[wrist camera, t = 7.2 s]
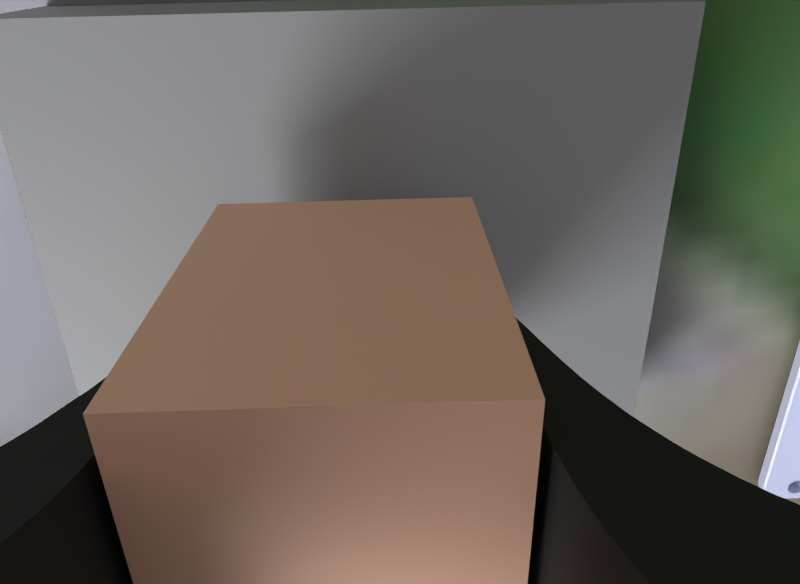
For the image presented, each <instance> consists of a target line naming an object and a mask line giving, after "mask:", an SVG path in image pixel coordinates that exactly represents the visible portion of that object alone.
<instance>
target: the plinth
mask: <svg viewBox="0 0 800 584" xmlns="http://www.w3.org/2000/svg"><path fill="white" fill-rule="evenodd" d="M705 5H706V1H702V0H281V1H241V2H201V3H160V4H120V5H80V6H44V7H38V8H32V9H26V10H21V11H15V12H9V13H3V14H0V130H1V134H2V137H3V141H4V144H5V147H6V151H7V154H8V157H9V161H10V164H11V168H12V171H13V174H14V178H15V181H16V184H17V188H18V191H19V195H20V198H21V201H22V205H23V208H24V211H25V215H26V218H27V222H28V225H29V228H30V232H31V235H32V238H33V242H34V245H35V249H36V252H37V255H38V259H39V262H40V265H41V269H42V272H43V276H44V279H45V282H46V286H47V289H48V292H49V296H50V299H51V302H52V306H53V309H54V313H55V316H56V319H57V323H58V326H59V329H60V333H61V336H62V340H63V343H64V346H65V350H66V353H67V356H68V360H69V363H70V367H71V370H72V373H73V377H74V380H75V383H76V387H77V390H78V394H79V396H80V395H82V394H83V393H85V392H86V391H88V390H89V389H91V388H92V387H93V386H95V385H96V384H97V383H99V382H100V381H102V380H103V379H104V378H106V377H107V376H108V374H109V373H110V371H111V369H112V368H113V366H114V365H115V363H116V362H117V360H118V359H119V357H120V356H121V354H122V352H123V351H124V349H125V348H126V346H127V345H128V343H129V342H130V340H131V338H132V337H133V335H134V334H135V332H136V331H137V329H138V328H139V326H140V325H141V323H142V321H143V320H144V318H145V317H146V315H147V314H148V312H149V311H150V309H151V308H152V306H153V304H154V303H155V301H156V300H157V298H158V297H159V295H160V294H161V292H162V290H163V289H164V287H165V286H166V284H167V283H168V281H169V280H170V278H171V277H172V275H173V273H174V272H175V270H176V269H177V267H178V266H179V264H180V263H181V261H182V259H183V258H184V256H185V255H186V253H187V252H188V250H189V249H190V247H191V246H192V244H193V242H194V241H195V239H196V238H197V236H198V235H199V233H200V232H201V230H202V229H203V227H204V225H205V224H206V222H207V221H208V219H209V218H210V216H211V215H212V213H213V211H214V210H215V208H216V207H217V205H218V204H239V203H274V202H310V201H346V200H382V199H417V198H453V197H472V199H473V201H474V204H475V207H476V210H477V212H478V215H479V218H480V221H481V223H482V226H483V229H484V232H485V234H486V237H487V240H488V243H489V245H490V248H491V251H492V254H493V257H494V259H495V262H496V265H497V268H498V270H499V273H500V276H501V279H502V281H503V284H504V287H505V290H506V292H507V295H508V298H509V301H510V303H511V306H512V309H513V312H514V314H515V317H516V318H517V319H518V320H519V321H520V322H521V323H523V324H524V325H525V326H526V327H527V328H528V329H529V330H530V331H531V332H532V333H533V334H534V335H535V336H536V337H537V338H538V339H539V340H540V341H541V342H542V343H543V344H545V345H546V346H547V347H548V348H549V349H550V350H551V351H552V352H553V353H554V354H555V355H556V356H557V357H559V358H560V359H561V360H562V361H563V362H564V363H565V364H566V365H568V366H569V367H570V368H571V369H572V370H573V371H574V372H576V373H577V374H578V375H579V376H580V377H581V378H583V379H584V380H585V381H586V382H588V383H589V384H590V385H591V386H592V387H594V388H595V389H596V390H597V391H599V392H600V393H601V394H603V395H604V396H605V397H607V398H608V399H609V400H611V401H612V402H613V403H615V404H616V405H617V406H619V407H620V408H621V409H623V410H624V411H625V412H627V413H628V414H630V415H631V416H633V417H634V412H635V407H636V401H637V395H638V390H639V384H640V378H641V372H642V367H643V361H644V355H645V349H646V344H647V338H648V332H649V326H650V321H651V315H652V309H653V303H654V298H655V292H656V286H657V280H658V275H659V269H660V263H661V257H662V252H663V246H664V240H665V234H666V229H667V223H668V217H669V211H670V206H671V200H672V194H673V188H674V183H675V177H676V171H677V166H678V160H679V154H680V148H681V143H682V137H683V131H684V125H685V120H686V114H687V108H688V102H689V97H690V91H691V85H692V79H693V74H694V68H695V62H696V56H697V51H698V45H699V39H700V33H701V28H702V22H703V16H704V10H705Z"/></svg>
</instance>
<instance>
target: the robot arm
mask: <svg viewBox="0 0 800 584" xmlns="http://www.w3.org/2000/svg"><path fill="white" fill-rule="evenodd" d="M516 320H517V323H518V325H519V328H520V331H521V334H522V336H523V339H524V342H525V345H526V348H527V350H528V353H529V356H530V359H531V361H532V364H533V367H534V370H535V372H536V375H537V378H538V381H539V383H540V386H541V389H542V392H543V394H544V397H545V408H544V418H543V429H542V439H541V449H540V460H539V470H538V480H537V491H536V501H535V511H534V522H533V532H532V543H531V553H530V563H529V574H528V584H800V505H798V504H796V503H794V502H791V501H789V500H786V499H784V498H800V341H799V345H798V348H797V352H796V355H795V358H794V362H793V365H792V368H791V372H790V375H789V378H788V382H787V385H786V389H785V392H784V395H783V399H782V402H781V405H780V409H779V412H778V415H777V419H776V422H775V426H774V429H773V432H772V436H771V439H770V442H769V446H768V449H767V453H766V456H765V459H764V463H763V466H762V469H761V473H760V476H759V479H758V485H759V487H760V488H759V487H757V486H755V485H753V484H751V483H749V482H746V481H744V480H742V479H740V478H738V477H736V476H734V475H732V474H730V473H728V472H726V471H724V470H723V469H721V468H719V467H717V466H715V465H713V464H711V463H709V462H707V461H705V460H703V459H701V458H699V457H698V456H696V455H694V454H692V453H690V452H689V451H687V450H685V449H683V448H682V447H680V446H678V445H676V444H675V443H673V442H672V441H670V440H668V439H667V438H665V437H664V436H662V435H660V434H659V433H657V432H656V431H654V430H652V429H651V428H649V427H648V426H646V425H644V424H643V423H641V422H640V421H638V420H637V419H635V418H634V417H633V416H631V415H630V414H628V413H627V412H625V411H624V410H623V409H621V408H620V407H619V406H617V405H616V404H615V403H613V402H612V401H611V400H609V399H608V398H607V397H605V396H604V395H603V394H601V393H600V392H599V391H597V390H596V389H595V388H594V387H592V386H591V385H590V384H589V383H588V382H586V381H585V380H584V379H583V378H581V377H580V376H579V375H578V374H577V373H576V372H574V371H573V370H572V369H571V368H570V367H569V366H568V365H566V364H565V363H564V362H563V361H562V360H561V359H560V358H559V357H557V356H556V355H555V354H554V353H553V352H552V351H551V350H550V349H549V348H548V347H547V346H546V345H545V344H543V343H542V342H541V341H540V340H539V339H538V338H537V337H536V336H535V335H534V334H533V333H532V332H531V331H530V330H529V329H528V328H527V327H526V326H525V325H524V324H523V323H521V322H520V321H519V320H518V319H517V318H516ZM105 379H106V378H104V379H103V380H102V381H100V382H99V383H97V384H96V385H95V386H93V387H92V388H91V389H89V390H88V391H86V392H85V393H83V394H82V395H80V396H79V397H78V398H76V399H75V400H73V401H72V402H70V403H69V404H67V405H66V406H64V407H63V408H61V409H60V410H58V411H57V412H55V413H54V414H52V415H51V416H49V417H48V418H46V419H45V420H43V421H42V422H41V423H39V424H38V425H36V426H34V427H33V428H31V429H30V430H28V431H26V432H25V433H23V434H21V435H20V436H18V437H16V438H15V439H13V440H11V441H10V442H8V443H6V444H5V445H3V446H1V447H0V584H133V582H132V578H131V575H130V571H129V568H128V565H127V561H126V558H125V555H124V551H123V548H122V544H121V541H120V538H119V534H118V531H117V528H116V524H115V521H114V517H113V514H112V511H111V507H110V504H109V501H108V497H107V494H106V491H105V487H104V484H103V480H102V477H101V474H100V470H99V467H98V464H97V460H96V457H95V453H94V450H93V447H92V443H91V440H90V437H89V433H88V430H87V426H86V423H85V420H84V416H83V413H84V411H85V410H86V408H87V407H88V405H89V404H90V402H91V400H92V399H93V397H94V396H95V394H96V393H97V391H98V390H99V388H100V387H101V385H102V383H103V382H104V380H105ZM794 481H795V482H794ZM792 482H793V483H792Z"/></svg>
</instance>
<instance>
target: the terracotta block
mask: <svg viewBox="0 0 800 584" xmlns="http://www.w3.org/2000/svg"><path fill="white" fill-rule="evenodd" d="M544 408H545V397H544V394H543V392H542V389H541V386H540V383H539V381H538V378H537V375H536V372H535V370H534V367H533V364H532V361H531V359H530V356H529V353H528V350H527V348H526V345H525V342H524V339H523V336H522V334H521V331H520V328H519V325H518V323H517V320H516V317H515V314H514V312H513V309H512V306H511V303H510V301H509V298H508V295H507V292H506V290H505V287H504V284H503V281H502V279H501V276H500V273H499V270H498V268H497V265H496V262H495V259H494V257H493V254H492V251H491V248H490V245H489V243H488V240H487V237H486V234H485V232H484V229H483V226H482V223H481V221H480V218H479V215H478V212H477V210H476V207H475V204H474V201H473V199H472V197H453V198H417V199H382V200H346V201H310V202H274V203H239V204H218V205H217V207H216V208H215V210H214V211H213V213H212V215H211V216H210V218H209V219H208V221H207V222H206V224H205V225H204V227H203V229H202V230H201V232H200V233H199V235H198V236H197V238H196V239H195V241H194V242H193V244H192V246H191V247H190V249H189V250H188V252H187V253H186V255H185V256H184V258H183V259H182V261H181V263H180V264H179V266H178V267H177V269H176V270H175V272H174V273H173V275H172V277H171V278H170V280H169V281H168V283H167V284H166V286H165V287H164V289H163V290H162V292H161V294H160V295H159V297H158V298H157V300H156V301H155V303H154V304H153V306H152V308H151V309H150V311H149V312H148V314H147V315H146V317H145V318H144V320H143V321H142V323H141V325H140V326H139V328H138V329H137V331H136V332H135V334H134V335H133V337H132V338H131V340H130V342H129V343H128V345H127V346H126V348H125V349H124V351H123V352H122V354H121V356H120V357H119V359H118V360H117V362H116V363H115V365H114V366H113V368H112V369H111V371H110V373H109V374H108V376H107V377H106V379H105V380H104V382H103V383H102V385H101V387H100V388H99V390H98V391H97V393H96V394H95V396H94V397H93V399H92V400H91V402H90V404H89V405H88V407H87V408H86V410H85V411H84V413H83V416H84V420H85V423H86V426H87V430H88V433H89V437H90V440H91V443H92V447H93V450H94V453H95V457H96V460H97V464H98V467H99V470H100V474H101V477H102V480H103V484H104V487H105V491H106V494H107V497H108V501H109V504H110V507H111V511H112V514H113V517H114V521H115V524H116V528H117V531H118V534H119V538H120V541H121V544H122V548H123V551H124V555H125V558H126V561H127V565H128V568H129V571H130V575H131V578H132V582H133V584H528V574H529V563H530V553H531V543H532V532H533V522H534V511H535V501H536V491H537V480H538V470H539V460H540V449H541V439H542V429H543V418H544Z"/></svg>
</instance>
